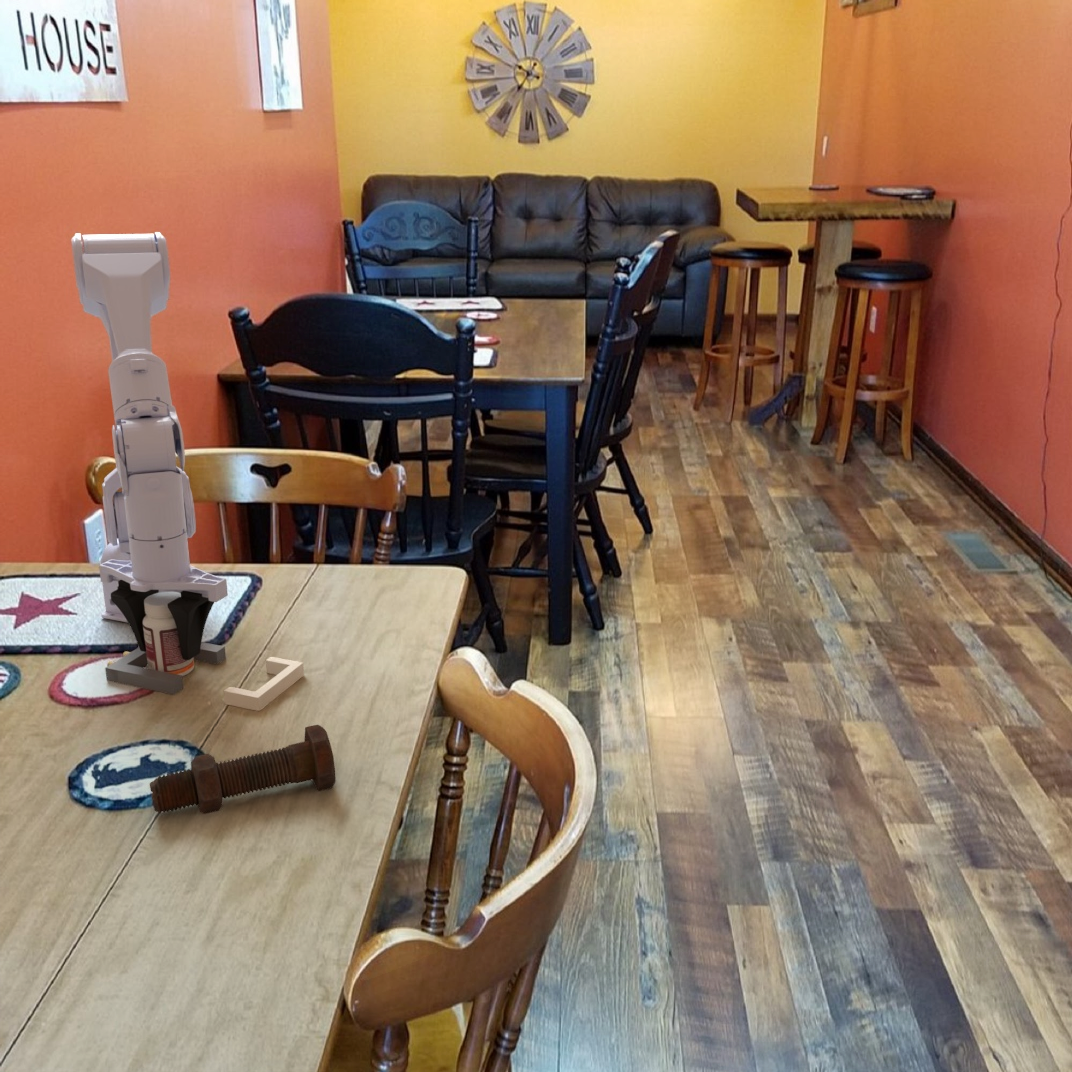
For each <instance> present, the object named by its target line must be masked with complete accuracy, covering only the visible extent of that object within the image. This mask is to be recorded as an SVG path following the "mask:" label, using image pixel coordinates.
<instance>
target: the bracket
mask: <svg viewBox="0 0 1072 1072" xmlns="http://www.w3.org/2000/svg"><path fill="white" fill-rule="evenodd" d="M304 668H305V667H304V662H303V661H302V662H301V661H297V660H290V659H287V658H280V657H276V656H270V657H267V659H265V670H266V671H265V672H266V674H269V675H270V674H271V675H275V676H273V677H272V678H271V679H270V680H269V681H267V682H266V683H265V684H263V685H262V686H261V687H259V688H258V689H257V690H255V691H253V690H249V689H244V688H238V687H234V686H229V687H228V688H226V689H224V690H223V693H224V704H225V705H227V706H228V705H229V706H233V707H238V708H242V709H247V710H252V711H257V712H260V711H261V710H263V709H265V707H266V706H268V705H269V704H270V703H271V702H273V701H274V700H276V698H278V697H279V696H280V695H282V693H284V692H286V691H287V689H289V688H290V687H291V686H293V685H294V684H295V683H296V682H298V681H299V680H300V679H301V678H302V677H304V676H305V670H304Z"/></svg>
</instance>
